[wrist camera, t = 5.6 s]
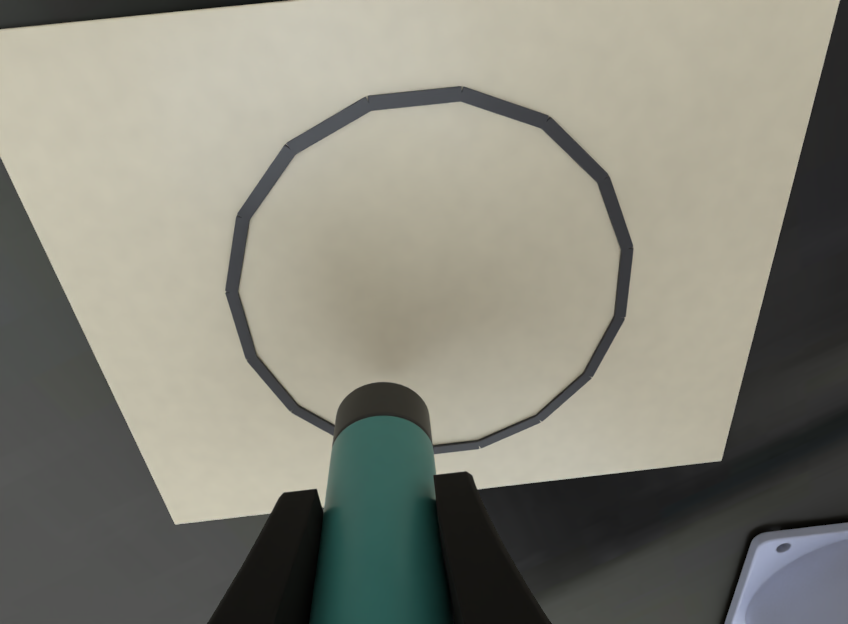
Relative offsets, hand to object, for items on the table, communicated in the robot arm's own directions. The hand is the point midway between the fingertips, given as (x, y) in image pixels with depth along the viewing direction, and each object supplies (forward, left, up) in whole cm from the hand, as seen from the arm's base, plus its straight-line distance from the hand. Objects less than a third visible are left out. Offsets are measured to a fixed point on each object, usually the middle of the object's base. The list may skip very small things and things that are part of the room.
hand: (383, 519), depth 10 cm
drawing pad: (-2, -2, -6) cm, 6 cm away
